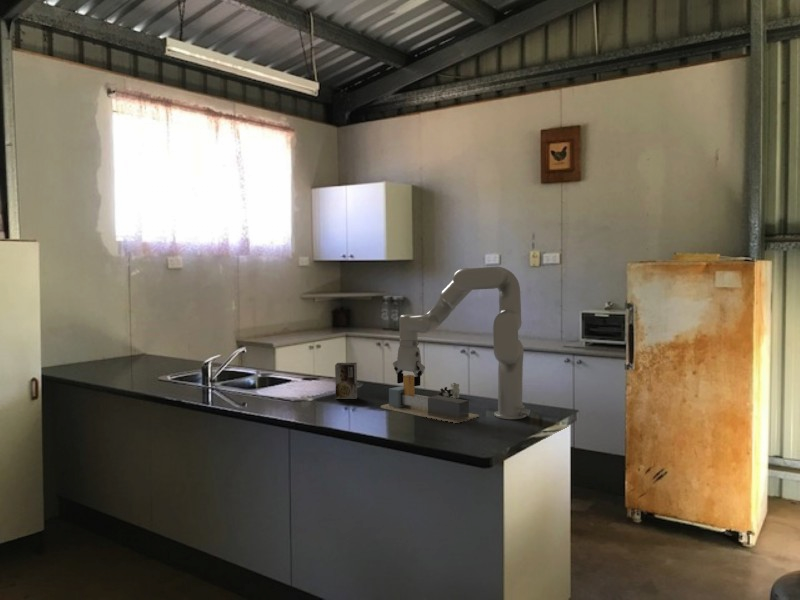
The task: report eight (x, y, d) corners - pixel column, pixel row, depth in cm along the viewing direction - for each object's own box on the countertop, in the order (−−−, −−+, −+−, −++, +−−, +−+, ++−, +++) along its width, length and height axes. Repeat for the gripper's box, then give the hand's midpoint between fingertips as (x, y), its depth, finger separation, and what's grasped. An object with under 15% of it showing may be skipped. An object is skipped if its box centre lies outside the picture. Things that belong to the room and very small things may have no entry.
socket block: (411, 403, 274) (411, 387, 274) (398, 407, 269) (398, 390, 268) (401, 402, 278) (401, 386, 278) (389, 405, 272) (388, 388, 272)
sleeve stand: (478, 417, 254) (478, 399, 253) (456, 423, 243) (456, 405, 243) (403, 402, 282) (403, 386, 281) (380, 407, 272) (380, 391, 271)
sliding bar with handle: (443, 409, 259) (443, 379, 259) (437, 410, 257) (436, 381, 256) (402, 401, 275) (401, 373, 275) (395, 402, 272) (395, 374, 272)
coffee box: (357, 397, 294) (357, 362, 293) (355, 400, 287) (354, 364, 286) (338, 397, 294) (337, 362, 294) (335, 400, 288) (334, 364, 287)
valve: (450, 396, 295) (438, 401, 284) (450, 382, 294) (438, 386, 284) (463, 397, 291) (452, 402, 281) (463, 383, 291) (452, 387, 281)
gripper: (430, 344, 265) (430, 385, 266) (399, 341, 277) (399, 380, 278) (417, 346, 260) (418, 388, 261) (387, 343, 272) (387, 383, 273)
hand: (408, 384), depth 269 cm, fingers open, 9 cm apart
